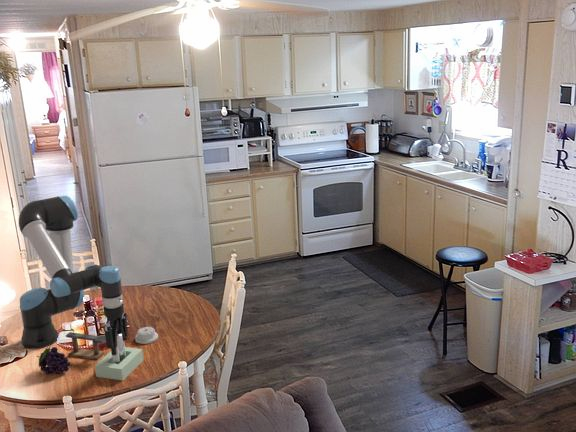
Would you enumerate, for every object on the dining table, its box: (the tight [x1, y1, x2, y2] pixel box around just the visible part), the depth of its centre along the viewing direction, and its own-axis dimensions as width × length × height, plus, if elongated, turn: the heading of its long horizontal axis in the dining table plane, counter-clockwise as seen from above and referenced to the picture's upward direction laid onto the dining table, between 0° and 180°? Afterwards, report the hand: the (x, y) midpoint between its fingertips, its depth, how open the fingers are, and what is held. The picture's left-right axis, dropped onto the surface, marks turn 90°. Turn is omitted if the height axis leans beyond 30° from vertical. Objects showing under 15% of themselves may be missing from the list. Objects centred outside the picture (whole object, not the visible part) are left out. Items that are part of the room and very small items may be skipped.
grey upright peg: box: [115, 332, 125, 364], centre depth 226 cm, size 4×4×12 cm
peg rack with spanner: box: [65, 331, 106, 361], centre depth 237 cm, size 18×5×9 cm, turn 74°
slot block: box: [94, 346, 145, 381], centre depth 227 cm, size 12×16×5 cm
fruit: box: [36, 344, 71, 374], centre depth 226 cm, size 10×11×15 cm
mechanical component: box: [134, 326, 159, 345], centre depth 251 cm, size 10×4×10 cm
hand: (119, 358), depth 227 cm, fingers closed on grey upright peg, 4 cm apart
